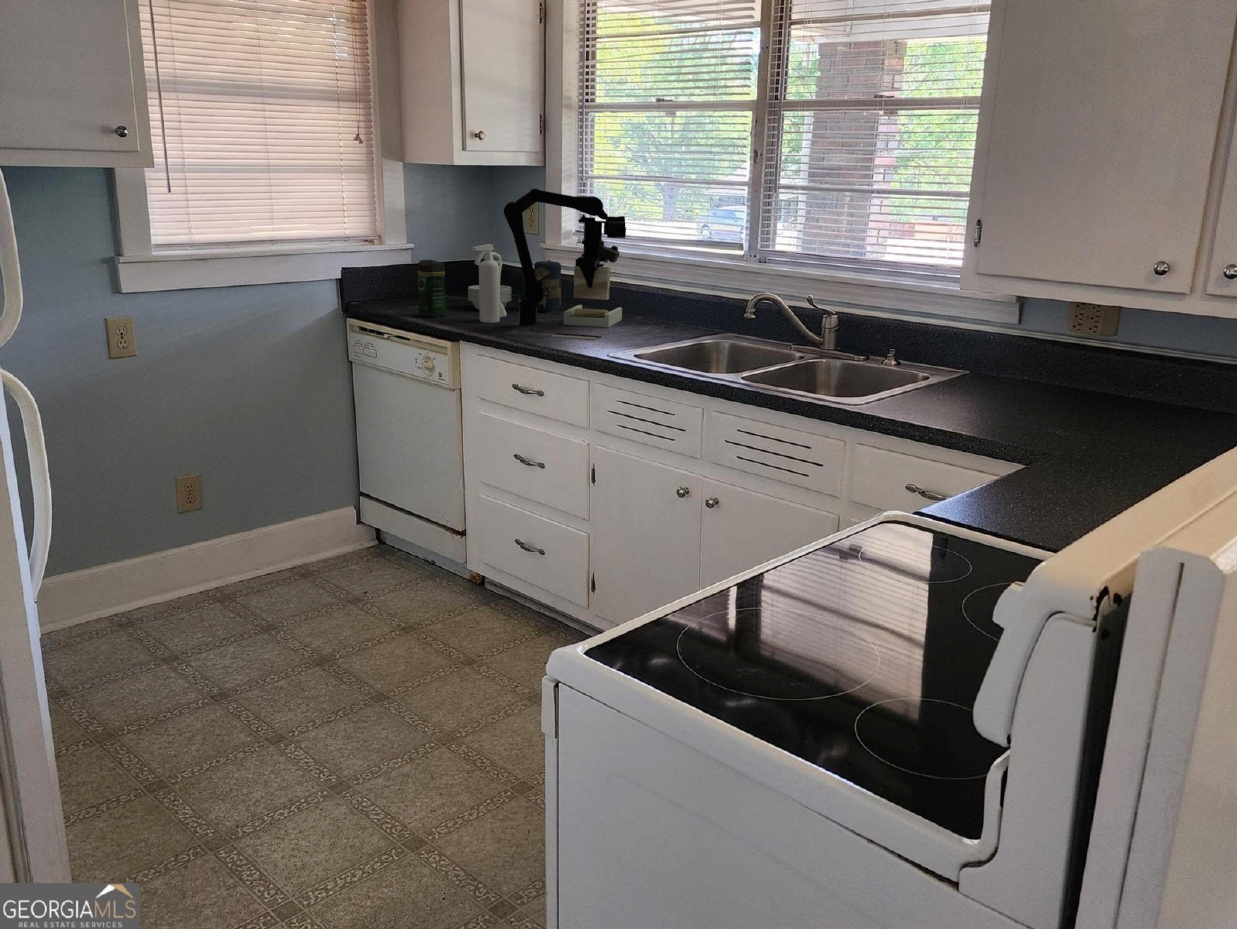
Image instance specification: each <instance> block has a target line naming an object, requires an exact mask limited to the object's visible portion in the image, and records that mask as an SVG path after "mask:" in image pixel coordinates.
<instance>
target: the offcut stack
mask: <svg viewBox="0 0 1237 929" xmlns="http://www.w3.org/2000/svg"><path fill="white" fill-rule="evenodd" d="M607 311H608V310H607V309H593V308H582V309H580V308H577V309H575V310H574V314H572V316H573V317H588V318H603V319H605V314H607Z"/></svg>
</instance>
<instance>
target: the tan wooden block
mask: <svg viewBox="0 0 1237 929" xmlns="http://www.w3.org/2000/svg"><path fill="white" fill-rule="evenodd" d="M573 268H574V269H573V270H574V271H573V298H574V299H585V300H586V299H588V300H603V301H605V300H606V301H608V300H610V283H611V282H610V280H611V267H610V266H603V267H599V268H598V269H597V270H596V271H595V274H594V280H593V285H592V288H588V285H587V283H586V280H585V278H584V275H583V273H582V271H581V269H580V268H579V267H577V266H575V265H574V267H573Z"/></svg>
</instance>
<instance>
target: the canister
mask: <svg viewBox="0 0 1237 929" xmlns="http://www.w3.org/2000/svg"><path fill="white" fill-rule="evenodd" d="M533 268H534V272H535V274H536V276H537V278H539V277H541V278H542V285H543V287H544V289H545V292H543V294H544V297H543V299H542V301H541V302H540V303H538V304H537V312H538V311H540V312H551V311H555V310H556V311H558V310H560V309H561V307H562V306H561V305H562V304H561V301H562V264H561V263H560V262H558V261H552V260H551V259H549V258H547V259H546V260H544V261H543V260H542V261H541V260H540V261H536V262H534V264H533Z"/></svg>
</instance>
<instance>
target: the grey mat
mask: <svg viewBox="0 0 1237 929" xmlns="http://www.w3.org/2000/svg"><path fill="white" fill-rule="evenodd" d="M551 337H552V338H561V339H562V338H563V339H578V340H589V341H590V340H592V341H597V340H599V339H600V338H602V337H603V335H592V334H591V335H590V334H575V333H559V332H556V333H554V334H552V335H551Z"/></svg>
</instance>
